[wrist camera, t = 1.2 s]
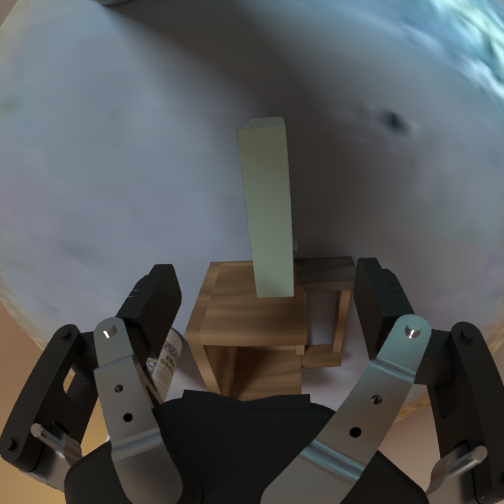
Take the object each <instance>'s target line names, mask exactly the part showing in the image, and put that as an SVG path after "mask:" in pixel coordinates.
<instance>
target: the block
mask: <svg viewBox="0 0 504 504" xmlns="http://www.w3.org/2000/svg"><path fill="white" fill-rule="evenodd" d="M237 135H238V144H239V152H240V160H241V169H242V177H243V185H244V193H245V202H246V210H247V218H248V226H249V235H250V243H251V251H252V259H253V268H254V276H255V284H256V292H257V298H258V297H292V296H294V282H293V252H298V238H292V220H291V199H290V181H289V165H288V151H287V138H286V126H285V122H284V119H283V116H280V117H265V118H253V119H251V120H250V121H248V122H247V123H245V124H244V125H243V126H241V127H240V128H239V129H237Z"/></svg>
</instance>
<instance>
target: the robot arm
mask: <svg viewBox="0 0 504 504" xmlns="http://www.w3.org/2000/svg"><path fill="white" fill-rule="evenodd" d="M91 1H94V2H97V3H100V4H104V5H115V4H121V3H124V2H127V1H130V0H91ZM132 290H133V291H131V293H130V294H129V297H127V299H126V300H125V302H124V303H123V305H122V307H121V308H120V310H119V311H118V313H117V315H116V316H115V317H111V318H107V319H105V320H103V321H102V322H100V323H99V324H98V325H97V326H96V328H95V330H94V331H92V332H86V333H80V331H79V329H78V328H77V326H76V325H73V324H68V325H65V326H63V327H61V328H59V329H58V330H57V331H56V332H55V334H54V335H53V337H52V338H51V340H50V342H49V343H48V345H47V347H46V348H45V350H44V351H43V354H42V355H41V357H40V358H39V360H38V362H37V363H36V366H35V367H34V369H33V370H32V372H31V374H30V376H29V378H28V380H27V381H26V384H25V385H24V387H23V389H22V391H21V393H20V395H19V397H18V399H17V401H16V403H15V405H14V407H13V409H12V412H11V414H10V416H9V418H8V420H7V423H6V425H5V427H4V429H3V432H2V434H1V437H0V455H1V457H2V458H3V459H4V460H5V461H7V462H8V463H10V464H12V465H13V466H15V467H16V468H18V469H19V470H20V471H21V472H23V473H25V474H27V475H28V476H30V477H32V478H34V479H36V480H37V481H39V482H42V483H45V484H47V485H49V486H51V487H53V488H55V489H58V490H60V491H62V492H64V494H65V500H66V504H495V503H497V502H499V501H502V500H504V385H503V383H502V380H501V377H500V375H499V372H498V370H497V367H496V365H495V363H494V360H493V358H492V356H491V353H490V351H489V349H488V347H487V345H486V342H485V340H484V338H483V336H482V334H481V332H480V331H479V329H478V328H477V327H476V326H474V325H473V324H471V323H468V322H458V323H456V324H455V325H454V326H453V327H452V329H451V331H450V332H448V331H441V330H434V329H431V327H430V325H429V323H428V322H427V321H426V320H425V319H423V318H422V317H420V316H417V315H415V313H414V311H413V309H412V307H411V305H410V303H409V301H408V299H407V297H406V295H405V293H404V292H403V289H402V287H401V285H400V283H399V281H398V279H397V277H396V275H395V274H393V273H392V272H391V271H390V270H389V269H382V268H381V266H380V264H379V262H378V260H377V258H359V259H358V262H357V269H356V277H355V284H354V301H355V305H356V309H357V312H358V316H359V319H360V323H361V327H362V331H363V335H364V338H365V342H366V346H367V351H368V355H369V359H370V361H371V362H370V363H369V365H368V366H367V368H366V370H365V371H364V373H363V374H362V376H361V377H360V379H359V380H358V382H357V383H356V385H355V386H354V388H353V389H352V391H351V392H350V393H349V395H348V396H347V398H346V399H345V401H344V402H343V403H342V405H341V406H340V407H339V409H338V410H337V411H334V410H332V409H330V408H328V407H325V406H323V405H319V404H316V403H311V402H310V394H296V395H275V396H270V397H265V398H260V399H255V400H249V401H241V400H237V399H234V398H230V397H227V396H223V395H220V394H217V393H214V392H204V391H194V390H185V389H184V393H183V396H182V398H177V399H172V400H169V401H166V402H163V400H162V398H161V396H160V394H159V391H158V389H157V387H156V384H155V382H154V380H153V377H152V375H151V372H150V370H149V367H148V365H147V364H146V362H147V359H148V358H154V359H158V358H159V356H160V353H161V351H162V348H163V346H164V343H165V341H166V338H167V336H168V333H169V331H170V329H171V326H172V324H173V321H174V319H175V317H176V314H177V312H178V310H179V307H180V305H181V300H182V295H181V290H180V286H179V283H178V280H177V276H176V273H175V270H174V267H173V265H172V264H156V265H154V267H153V268H152V270H151V271H150V273H149V274H148V275H145V276H144V277H143V278H142V279H140V280H139V281H138V282H137V283H136V285H135V286H134V288H133V289H132ZM70 368H72V370H73V371H74V372H75V373H76V374H75V376H74V378H73V380H72V382H71V384H70V386H69V389H68V391H67V393H65V391H64V388H63V383H64V380H65V378H66V376H67V374H68V372H69V370H70ZM413 383H414V384H422V385H427V389H428V393H429V397H430V402H431V406H432V411H433V416H434V421H435V426H436V432H437V438H438V444H439V451H440V458H441V459H440V460H439V461H438V462H437V463H436V464H435V466H434V467H433V469H432V472H431V481H430V485H429V487H428V489H427V491H426V492H424V491H423V489H422V488H421V487H420V486H419V485H417V484H416V483H415V482H414V481H413V480H412V479H410V478H409V477H408V476H407V475H406V474H405V473H403V472H402V471H401V470H400V469H399V468H398V467H397V466H395V465H394V464H393V463H392V462H391V461H390V460H389V459H388V458H386V457H385V456H384V455H383V454H382V453H381V452H380V451H379V450H378V448H379V446H380V445H381V443H382V441H383V440H384V438H385V436H386V434H387V433H388V431H389V429H390V428H391V426H392V424H393V422H394V421H395V419H396V417H397V415H398V413H399V411H400V409H401V407H402V405H403V403H404V401H405V399H406V397H407V395H408V393H409V391H410V389H411V387H412V384H413ZM98 396H99V400H100V403H101V408H102V412H103V416H104V420H105V424H106V427H107V430H108V434H109V437H110V440H108V441H107V442H105V443H104V444H102V445H101V446H99V447H98V448H97V449H95V450H94V451H92V452H91V453H89V454H87V455H86V456H83V455H82V451H81V447H80V445H81V442H82V439H83V436H84V433H85V430H86V428H87V425H88V422H89V419H90V417H91V414H92V411H93V409H94V406H95V404H96V401H97V398H98Z"/></svg>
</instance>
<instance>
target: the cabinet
mask: <svg viewBox="0 0 504 504" xmlns="http://www.w3.org/2000/svg"><path fill="white" fill-rule="evenodd" d="M355 277H356V269H355V266H354V263H353V261H352V258H351V257H332V258H309V259H293V282H294V296H292V297H258V298H257V292H256V284H255V276H254V268H253V261H231V262H211V263H210V266H209V268H208V271H207V273H206V276H205V279H204V281H203V284H202V287H201V290H200V292H199V295H198V298H197V300H196V303H195V306H194V309H193V311H192V314H191V317H190V320H189V322H188V325H187V328H186V331H185V337H186V340H187V342H188V345H189V347H190V349H191V352H192V354H193V357H194V359H195V361H196V364H197V366H198V368H199V371H200V373H201V375H202V378H203V380H204V382H205V384H206V386H207V389H208V391H209V392H214V393H217V394H220V395H223V396H227V397H230V398H234V399H237V400H241V401H249V400H255V399H260V398H265V397H270V396H275V395H296V394H301V368H320V367H334V366H341V362H342V361H341V354H340V352H341V347H342V342H343V337H344V331H345V326H346V320H347V314H348V308H349V302H350V295H351V290H354V284H355ZM321 291H338V299H337V307H336V315H335V323H334V330H333V337H332V343H331V344H326V345H307V321H306V292H321ZM304 345H307V346H304Z"/></svg>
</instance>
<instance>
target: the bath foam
mask: <svg viewBox="0 0 504 504" xmlns="http://www.w3.org/2000/svg"><path fill="white" fill-rule="evenodd" d="M181 350H182V341H181V338H180V337H179V335H178V334H177V333H176V332H175V331H174V330H173V329H170V331H169V333H168V336H167V338H166V341H165V343H164V346H163V348H162V351H161V353H160V356H159V358H158V359H154V358H148V359H147V362H146V364H147V365H148V367H149V370H150V372H151V375H152V377H153V380H154V382H155V384H156V387H157V389H158V391H159V394H160V396H161V398H162V400H163V402H165V399H166V396H167V393H168V390H169V386H170V383H171V380H172V377H173V374H174V371H175V368H176V365H177V362H178V359H179V356H180V353H181ZM108 440H110V437H109V435H108V436H107V439H106V442H107V441H108Z"/></svg>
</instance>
